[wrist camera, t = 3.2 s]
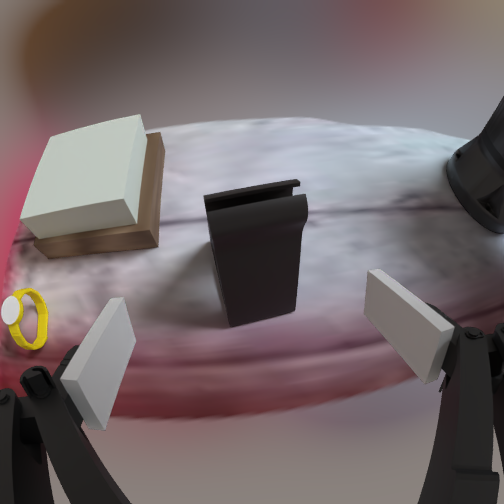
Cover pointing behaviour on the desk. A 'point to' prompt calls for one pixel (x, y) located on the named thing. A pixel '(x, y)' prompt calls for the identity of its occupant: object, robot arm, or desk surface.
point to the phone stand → (257, 248)
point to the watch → (14, 314)
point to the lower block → (121, 236)
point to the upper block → (88, 179)
